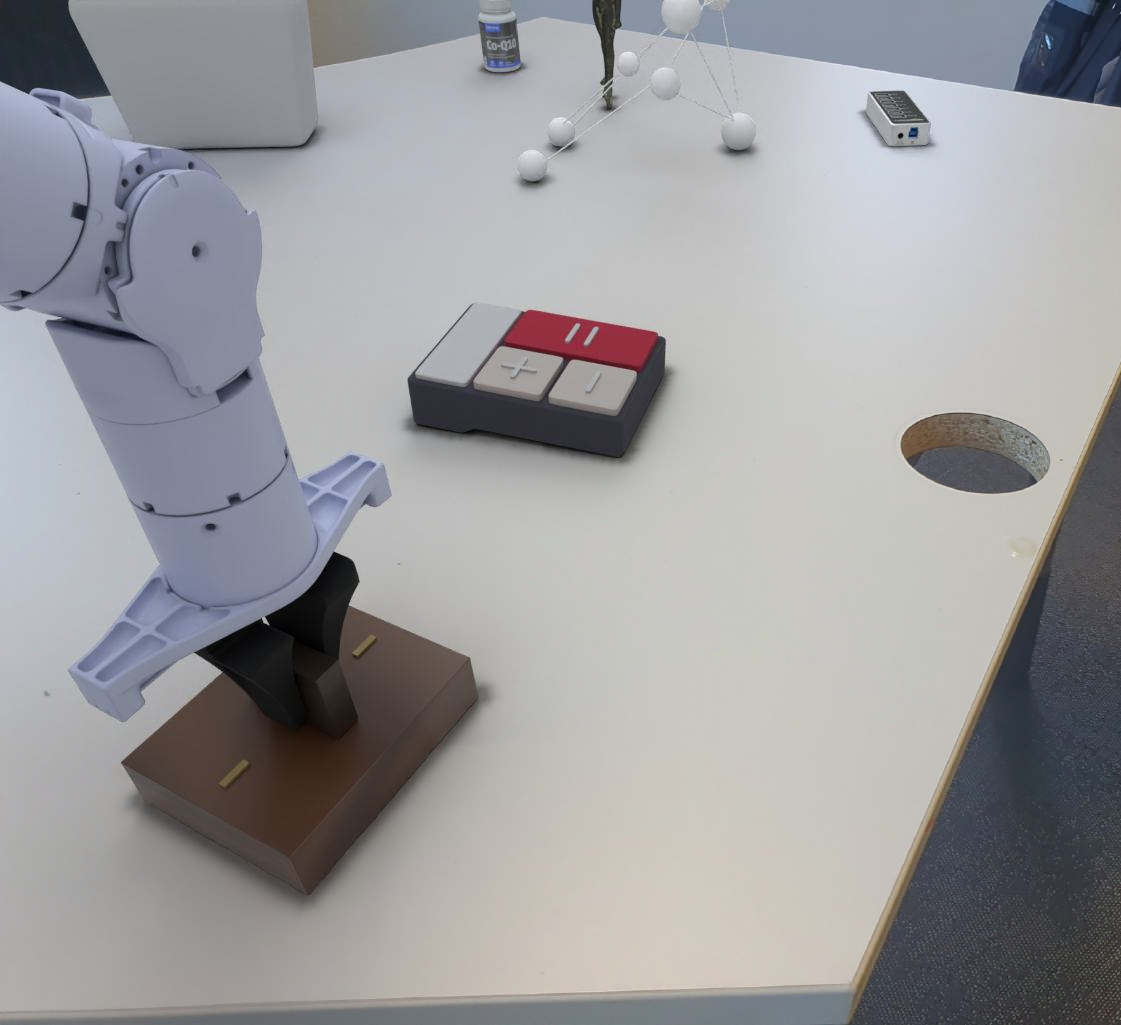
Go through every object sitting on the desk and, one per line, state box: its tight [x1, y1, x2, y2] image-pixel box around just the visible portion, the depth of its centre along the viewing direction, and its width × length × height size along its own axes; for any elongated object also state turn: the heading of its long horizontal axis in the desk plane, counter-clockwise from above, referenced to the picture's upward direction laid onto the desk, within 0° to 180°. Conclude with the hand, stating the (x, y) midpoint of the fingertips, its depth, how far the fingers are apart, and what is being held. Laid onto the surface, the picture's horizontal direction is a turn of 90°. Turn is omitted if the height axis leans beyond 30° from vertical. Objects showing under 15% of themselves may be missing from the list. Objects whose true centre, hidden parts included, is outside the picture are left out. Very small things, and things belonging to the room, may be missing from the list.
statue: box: [591, 0, 623, 109], centre depth 111 cm, size 5×6×20 cm
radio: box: [68, 0, 319, 150], centre depth 101 cm, size 22×8×25 cm, turn 93°
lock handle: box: [292, 640, 358, 739], centre depth 44 cm, size 6×1×4 cm, turn 62°
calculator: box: [406, 302, 667, 458], centre depth 69 cm, size 11×4×15 cm
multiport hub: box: [865, 89, 932, 147], centre depth 110 cm, size 4×11×2 cm, turn 6°
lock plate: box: [120, 605, 479, 896], centre depth 47 cm, size 12×10×3 cm
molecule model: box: [516, 0, 757, 182], centre depth 99 cm, size 14×25×18 cm, turn 97°
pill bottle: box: [477, 0, 522, 73], centre depth 125 cm, size 5×5×8 cm
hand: (301, 700), depth 46 cm, fingers closed on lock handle
